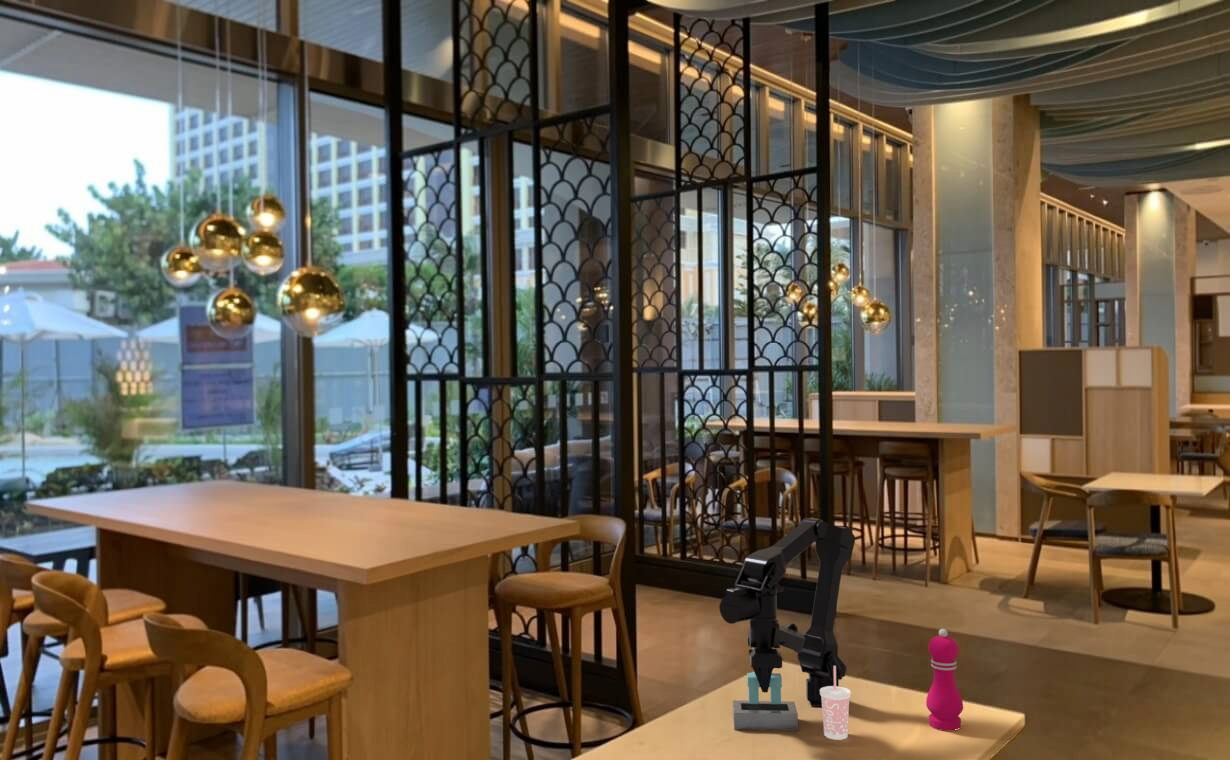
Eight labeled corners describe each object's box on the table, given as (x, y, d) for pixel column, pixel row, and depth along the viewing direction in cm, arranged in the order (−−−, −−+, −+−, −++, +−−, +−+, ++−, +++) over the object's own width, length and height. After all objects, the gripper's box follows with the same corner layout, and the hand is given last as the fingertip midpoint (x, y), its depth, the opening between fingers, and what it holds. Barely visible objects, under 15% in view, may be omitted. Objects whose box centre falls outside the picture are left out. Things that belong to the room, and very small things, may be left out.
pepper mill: (964, 722, 190) (962, 626, 190) (962, 734, 183) (960, 634, 184) (928, 717, 193) (926, 623, 193) (924, 729, 186) (922, 631, 187)
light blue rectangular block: (748, 703, 190) (747, 677, 190) (747, 698, 193) (747, 672, 193) (782, 704, 189) (781, 677, 189) (780, 699, 192) (780, 673, 192)
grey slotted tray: (794, 718, 194) (794, 701, 194) (798, 730, 186) (797, 713, 187) (733, 716, 195) (732, 700, 195) (734, 729, 188) (734, 712, 188)
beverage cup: (814, 734, 184) (812, 665, 185) (833, 727, 188) (832, 659, 188) (838, 743, 180) (837, 672, 180) (857, 736, 183) (856, 666, 183)
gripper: (807, 627, 181) (808, 705, 181) (797, 604, 200) (798, 676, 199) (750, 626, 182) (752, 704, 182) (746, 604, 201) (747, 675, 201)
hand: (764, 689), depth 191 cm, fingers closed on light blue rectangular block, 3 cm apart
